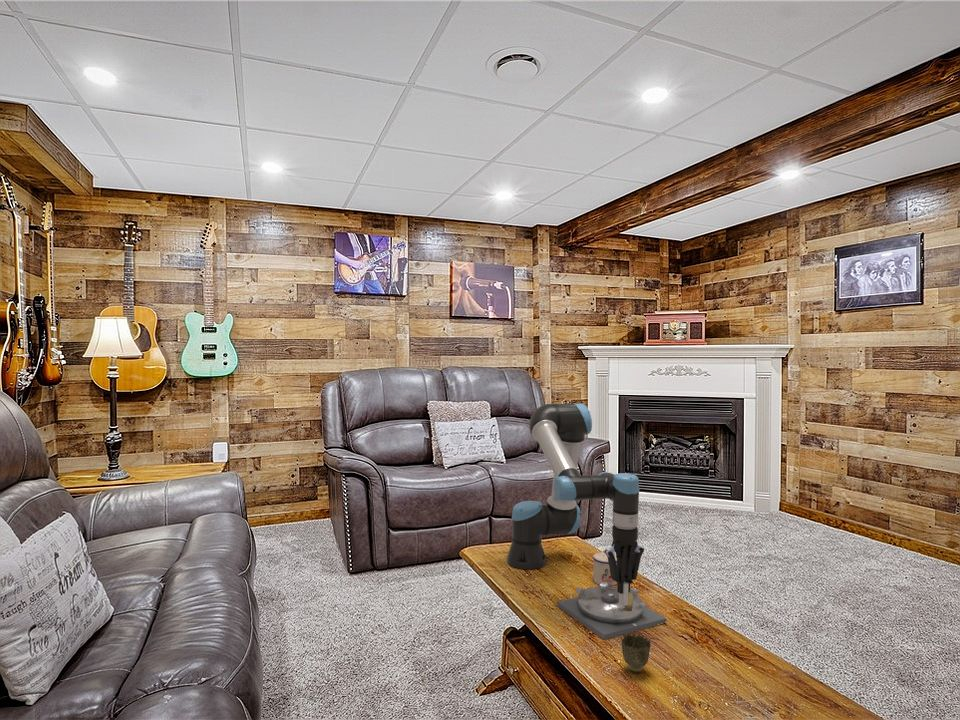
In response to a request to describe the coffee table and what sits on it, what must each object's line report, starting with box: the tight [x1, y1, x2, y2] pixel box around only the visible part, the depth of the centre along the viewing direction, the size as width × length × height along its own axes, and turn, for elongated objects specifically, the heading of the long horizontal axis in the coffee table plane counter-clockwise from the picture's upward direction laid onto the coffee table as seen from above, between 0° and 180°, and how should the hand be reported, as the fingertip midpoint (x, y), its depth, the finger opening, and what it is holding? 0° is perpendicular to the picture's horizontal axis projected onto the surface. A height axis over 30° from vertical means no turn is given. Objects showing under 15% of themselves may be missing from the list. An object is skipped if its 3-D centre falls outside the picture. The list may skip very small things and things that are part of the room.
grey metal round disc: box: [575, 582, 648, 624], centre depth 179 cm, size 20×22×8 cm
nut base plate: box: [556, 596, 667, 641], centre depth 179 cm, size 24×24×2 cm
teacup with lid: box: [592, 548, 617, 587], centre depth 205 cm, size 12×9×12 cm
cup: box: [620, 633, 651, 674], centre depth 148 cm, size 8×7×8 cm
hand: (623, 603), depth 171 cm, fingers closed
